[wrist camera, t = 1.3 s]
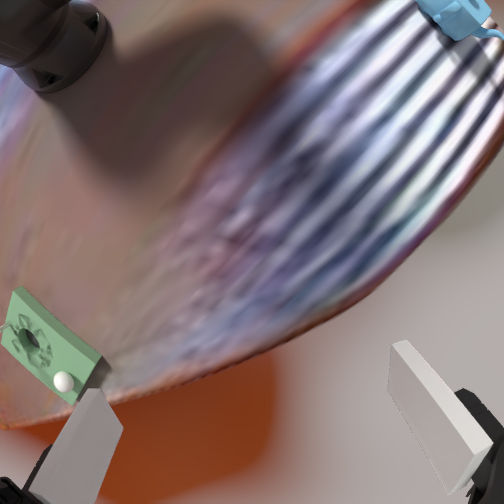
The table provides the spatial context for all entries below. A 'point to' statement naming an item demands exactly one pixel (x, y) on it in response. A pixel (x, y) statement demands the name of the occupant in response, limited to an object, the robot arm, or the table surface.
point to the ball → (63, 382)
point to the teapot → (460, 17)
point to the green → (46, 344)
